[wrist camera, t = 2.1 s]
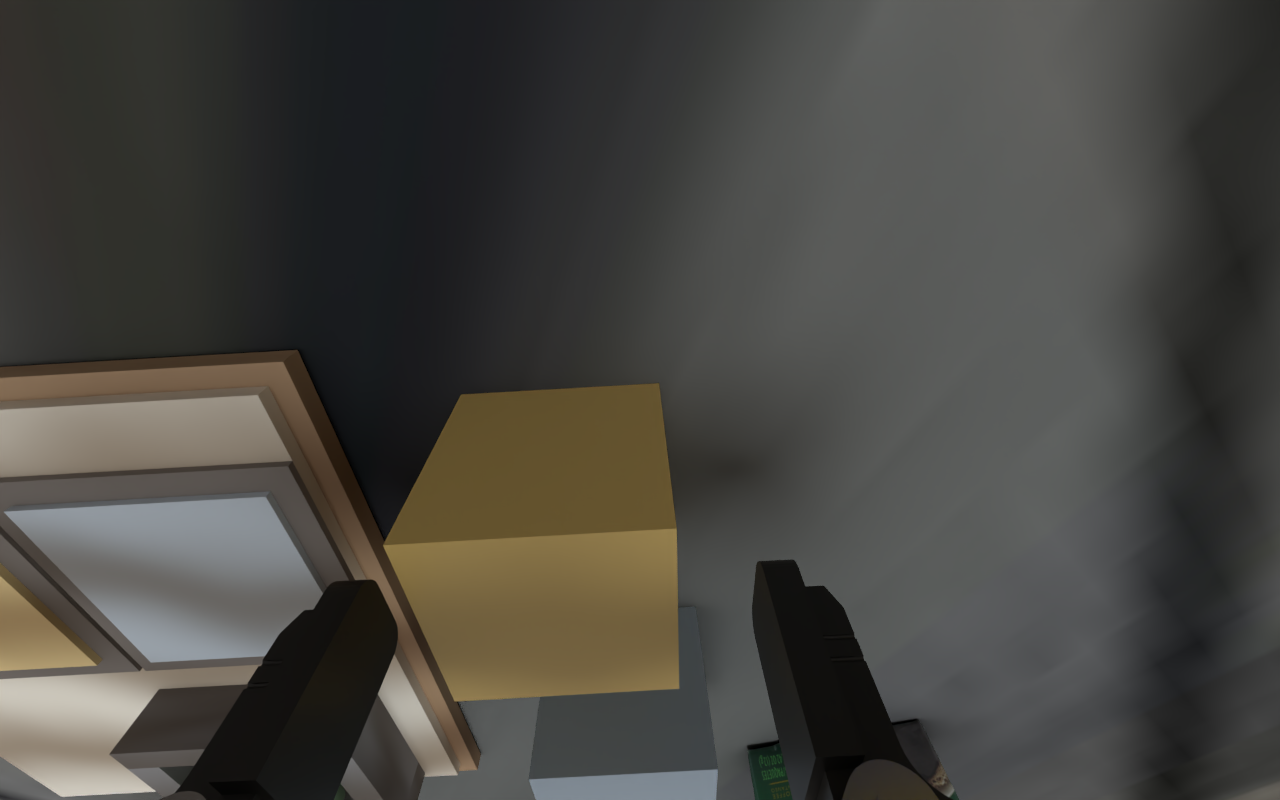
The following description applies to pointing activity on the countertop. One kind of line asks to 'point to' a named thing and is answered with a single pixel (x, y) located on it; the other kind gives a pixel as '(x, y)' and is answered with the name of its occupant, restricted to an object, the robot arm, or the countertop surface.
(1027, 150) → the countertop surface
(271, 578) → the cream sorting board
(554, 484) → the yellow cube
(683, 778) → the blue-grey cube block
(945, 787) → the coffee box
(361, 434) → the countertop surface
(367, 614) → the robot arm
